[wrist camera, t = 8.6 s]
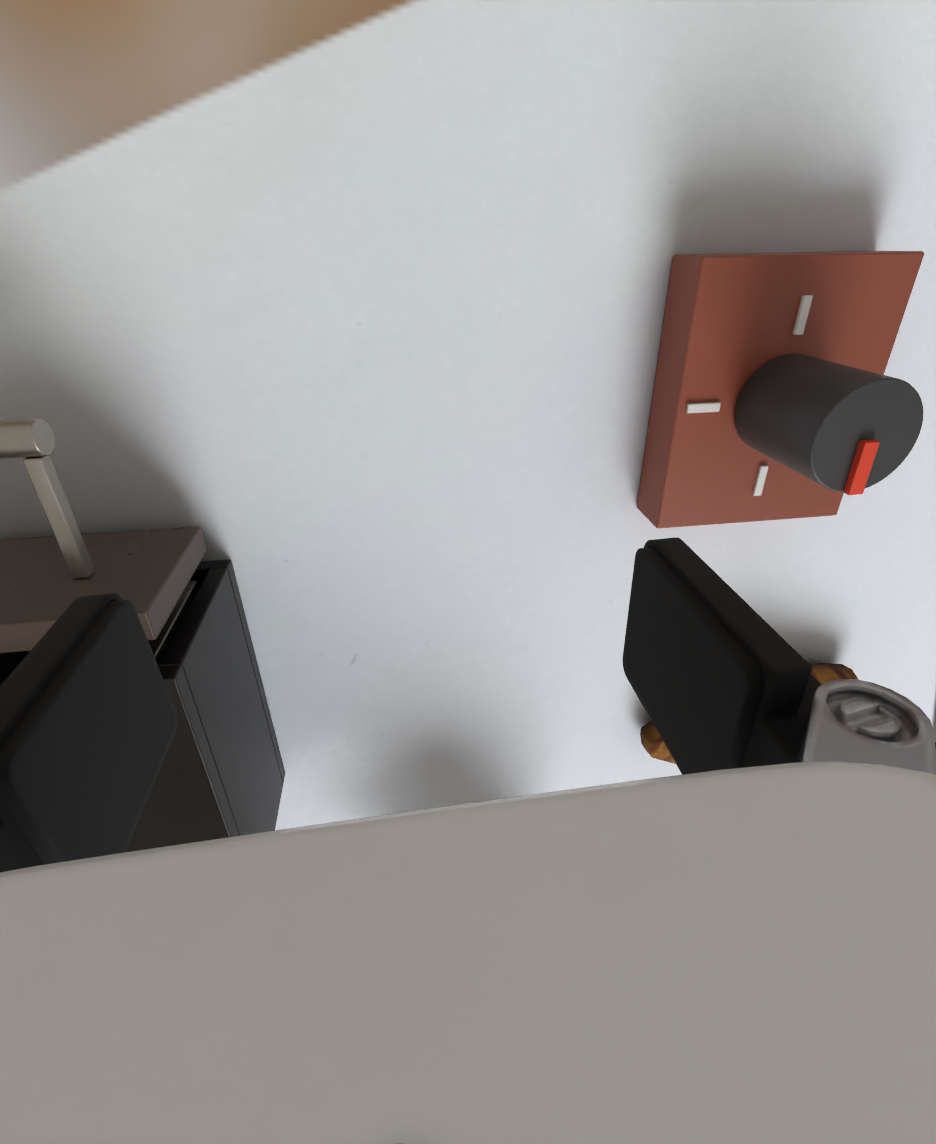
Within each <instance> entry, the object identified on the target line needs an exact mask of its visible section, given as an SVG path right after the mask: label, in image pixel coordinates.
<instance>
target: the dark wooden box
mask: <svg viewBox="0 0 936 1144" xmlns="http://www.w3.org/2000/svg"><path fill="white" fill-rule="evenodd" d="M190 581H197V584H198V587H199V591H198V593H197V595H196V596H195V598H194V600H193V602H192V604H191V606H190V608H189V610H188V612H187V614H186V615H185V617H184V619H183V621H182V623H181V625H180V627H179V629H178V631H177V633H176V635H175V636H174V638H173V640H172V642H171V644H170V646H169V648H168V650H167V652H166V654H165V655H164V657H163V659H162V661H161V663H160V665H159V666H158V667H159V670H160V672H161V675H162V677H163V680H164V682H165V685H166V687H167V690H168V692H169V695H170V697H171V700H172V702H173V705H174V707H175V710H176V713H177V729H176V732H175V735H174V737H173V740H172V742H171V744H170V747H169V749H168V751H167V754H166V756H165V759H164V761H163V763H162V766H161V768H160V770H159V773H158V775H157V778H156V780H155V782H154V785H153V787H152V790H151V792H150V794H149V797H148V799H147V801H146V804H145V806H144V809H143V811H142V813H141V816H140V818H139V820H138V823H137V825H136V828H135V830H134V832H133V835H132V837H131V840H130V842H129V844H128V847H127V849H126V851H125V852H132V851H139V850H145V849H152V848H159V847H166V846H173V845H180V844H187V843H193V842H200V841H207V840H214V839H221V838H228V837H235V836H241V835H248V834H255V833H262V832H269V831H275V826H276V821H277V815H278V809H279V804H280V798H281V793H282V787H283V782H284V776H285V771H284V767H283V763H282V759H281V755H280V751H279V747H278V743H277V740H276V736H275V732H274V728H273V724H272V720H271V716H270V712H269V708H268V704H267V700H266V696H265V692H264V688H263V684H262V680H261V676H260V673H259V669H258V665H257V661H256V657H255V653H254V649H253V645H252V641H251V637H250V633H249V629H248V625H247V621H246V617H245V613H244V609H243V605H242V602H241V598H240V594H239V590H238V586H237V582H236V578H235V574H234V570H233V566H232V562H231V560H221V561H207V562H200V563H199V565H198V567H197V568H196V570H195V572H194V574H193V575H192V577H191V579H190ZM3 682H4V681H0V686H1V685H2V683H3Z"/></svg>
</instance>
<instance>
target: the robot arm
mask: <svg viewBox="0 0 936 1144" xmlns="http://www.w3.org/2000/svg"><path fill="white" fill-rule="evenodd" d="M623 667H624V672H625V675H626V677H627V679H628V680H629V682H630V684H631V686H632V687H633V689H634V691H635V693H636V694H637V696H638V698H639V700H640V701H641V703H642V705H643V707H644V708H645V710H646V712H647V714H648V715H649V717H650V719H651V721H652V722H653V724H654V726H655V728H656V729H657V731H658V733H659V735H660V736H661V738H662V740H663V742H664V743H665V745H666V747H667V749H668V750H669V752H670V754H671V756H672V757H673V759H674V761H675V762H676V764H677V766H678V768H679V769H680V771H681V773H682V775H677V776H669V777H661V778H652V779H644V780H637V781H630V782H622V783H615V784H607V785H600V786H592V787H585V788H578V789H570V790H563V791H555V792H548V793H540V794H533V795H526V796H518V797H511V798H503V799H496V800H489V801H481V802H474V803H467V804H460V805H453V806H446V807H438V808H431V809H424V810H417V811H410V812H402V813H395V814H388V815H381V816H374V817H367V818H360V819H353V820H346V821H339V822H332V823H325V824H318V825H310V826H303V827H296V828H289V829H283V830H276V831H269V832H262V833H255V834H248V835H241V836H235V837H228V838H221V839H214V840H207V841H200V842H193V843H187V844H180V845H173V846H166V847H159V848H152V849H145V850H139V851H132V852H125V851H126V849H127V847H128V844H129V842H130V840H131V837H132V835H133V832H134V830H135V828H136V825H137V823H138V820H139V818H140V816H141V813H142V811H143V809H144V806H145V804H146V801H147V799H148V797H149V794H150V792H151V790H152V787H153V785H154V782H155V780H156V778H157V775H158V773H159V770H160V768H161V766H162V763H163V761H164V759H165V756H166V754H167V751H168V749H169V747H170V744H171V742H172V740H173V737H174V735H175V732H176V729H177V713H176V710H175V707H174V705H173V702H172V700H171V697H170V695H169V692H168V690H167V687H166V685H165V682H164V680H163V677H162V675H161V672H160V670H159V667H158V665H157V662H156V660H155V657H154V655H153V652H152V650H151V647H150V645H149V642H148V640H147V637H146V635H145V632H144V630H143V627H142V624H141V622H140V619H139V617H138V614H137V612H136V609H135V607H134V605H133V603H132V602H131V601H129V600H123V599H122V598H121V597H120V596H119V595H118V594H116V593H109V594H99V595H89V596H80V597H78V598H76V599H75V600H74V601H73V602H72V603H71V605H70V606H69V607H68V608H67V609H66V610H65V612H64V613H63V614H62V615H61V616H60V617H59V618H58V620H57V621H56V622H55V623H54V624H53V625H52V627H51V628H50V629H49V630H48V631H47V632H46V634H45V635H44V636H43V637H42V638H41V639H40V640H39V642H38V643H37V644H36V645H35V646H34V647H33V649H32V650H31V651H30V652H29V653H28V654H27V656H26V657H25V658H24V659H23V660H22V661H21V662H20V664H19V665H18V666H17V667H16V668H15V669H14V671H13V672H12V673H11V674H10V675H9V676H8V678H7V679H6V680H5V681H4V682H3V683H2V685H1V686H0V1144H936V742H935V736H934V730H933V727H932V724H931V721H930V719H929V718H928V717H927V716H926V714H925V713H924V712H923V711H922V710H921V709H920V708H919V707H918V706H917V705H915V704H914V703H913V702H911V701H910V700H909V699H907V698H906V697H904V696H902V695H900V694H898V693H896V692H895V691H893V690H891V689H888V688H885V687H883V686H880V685H877V684H874V683H871V682H866V681H861V680H856V679H837V680H832V681H827V682H826V683H824V684H821V683H820V682H819V681H818V680H817V679H816V678H815V677H814V676H813V675H812V674H811V671H812V668H813V667H812V666H811V665H809V664H808V663H807V662H806V661H805V660H804V659H803V658H802V657H801V656H800V655H799V654H798V653H797V652H796V651H795V650H794V649H793V648H792V647H791V646H790V645H789V644H788V643H787V642H786V641H785V640H784V639H783V638H782V637H781V636H780V635H779V634H778V633H777V632H776V631H775V630H774V629H773V628H771V627H770V626H769V625H768V624H767V623H766V622H765V621H764V620H763V619H762V618H761V617H760V616H759V615H758V614H757V613H756V612H755V611H754V610H753V609H752V608H751V607H750V606H749V605H748V604H747V603H746V602H745V601H744V600H743V599H742V598H741V597H740V596H739V595H738V594H737V593H736V592H735V591H734V590H732V589H731V588H730V587H729V586H728V585H727V584H726V583H725V582H724V581H723V580H722V579H721V578H720V577H719V576H718V575H717V574H716V573H715V572H714V571H713V570H712V569H711V568H710V567H709V566H708V565H707V564H706V563H705V562H704V561H703V560H702V559H701V558H700V557H699V556H698V555H697V554H696V553H694V552H693V551H692V550H691V549H690V548H689V547H688V546H687V545H686V544H685V543H684V542H683V541H682V540H681V539H679V538H667V539H657V540H649V541H647V542H646V544H645V546H644V548H640V549H638V550H637V552H636V556H635V564H634V572H633V580H632V588H631V596H630V604H629V612H628V620H627V628H626V636H625V644H624V652H623Z"/></svg>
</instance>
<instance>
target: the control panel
mask: <svg viewBox="0 0 936 1144" xmlns="http://www.w3.org/2000/svg"><path fill="white" fill-rule="evenodd" d="M923 256H924V252H922V251H847V252H796V253H745V254H694V255H674V256H673V259H672V266H671V273H670V280H669V287H668V294H667V301H666V308H665V315H664V322H663V328H662V335H661V342H660V349H659V356H658V363H657V370H656V377H655V384H654V391H653V398H652V405H651V412H650V418H649V425H648V432H647V439H646V446H645V453H644V460H643V467H642V474H641V481H640V488H639V495H638V501H637V508H638V509H639V510H640V511H641V512H642V513H643V514H644V515H645V516H646V517H647V518H648V519H649V520H650V521H651V523H652V524H653V525H654V526H655V527H656V528H669V527H682V526H696V525H709V524H723V523H736V522H750V521H763V520H777V519H791V518H804V517H818V516H831V515H836V514H837V511H838V508H839V505H840V502H841V499H842V496H843V493H844V492H836V491H832V490H829V489H827V488H825V487H823V486H821V485H820V484H818V483H816V482H814V481H812V480H810V479H809V478H807V477H805V476H803V475H801V474H799V473H797V472H796V471H794V470H792V469H790V468H788V467H786V466H785V465H783V464H781V463H779V462H777V461H775V460H774V459H772V458H770V457H768V456H766V455H764V454H763V453H761V452H759V451H757V450H755V449H753V448H752V447H750V446H748V445H747V444H745V443H744V442H743V441H742V439H741V438H740V437H739V435H738V433H737V430H736V427H735V421H734V412H735V406H736V402H737V399H738V396H739V394H740V392H741V390H742V388H743V386H744V385H745V383H746V382H747V380H748V379H749V378H750V377H751V376H752V374H753V373H754V372H755V371H756V370H758V369H759V368H760V367H761V366H762V365H764V364H765V363H767V362H769V361H770V360H772V359H774V358H777V357H779V356H782V355H786V354H803V355H807V356H811V357H815V358H819V359H823V360H827V361H831V362H835V363H838V364H842V365H846V366H850V367H854V368H858V369H862V370H866V371H870V372H873V373H877V374H881V375H883V374H884V372H885V369H886V366H887V363H888V360H889V357H890V354H891V351H892V348H893V345H894V342H895V339H896V336H897V333H898V330H899V327H900V324H901V321H902V318H903V315H904V312H905V309H906V306H907V303H908V300H909V297H910V294H911V291H912V288H913V285H914V282H915V279H916V276H917V273H918V270H919V268H920V265H921V262H922V259H923Z"/></svg>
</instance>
